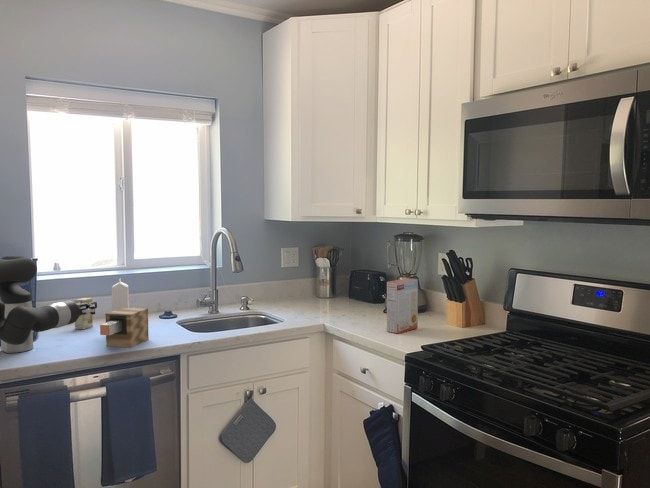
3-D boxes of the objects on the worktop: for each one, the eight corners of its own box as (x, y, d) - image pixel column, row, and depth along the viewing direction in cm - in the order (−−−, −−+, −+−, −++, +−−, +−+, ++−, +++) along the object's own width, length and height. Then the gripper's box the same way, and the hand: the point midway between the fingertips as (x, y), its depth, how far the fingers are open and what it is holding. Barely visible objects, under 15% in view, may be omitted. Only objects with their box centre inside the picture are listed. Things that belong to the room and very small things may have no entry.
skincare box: (83, 329, 223) (82, 300, 222) (74, 329, 224) (73, 299, 223) (93, 326, 229) (92, 297, 228) (84, 325, 230) (83, 297, 229)
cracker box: (406, 326, 230) (407, 277, 229) (418, 328, 226) (418, 279, 224) (385, 331, 220) (386, 280, 219) (397, 334, 216) (397, 282, 215)
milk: (112, 335, 214) (110, 279, 212) (114, 331, 220) (112, 277, 218) (129, 334, 216) (127, 279, 214) (130, 330, 221) (128, 277, 220)
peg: (109, 335, 188) (109, 325, 187) (100, 334, 188) (99, 324, 188) (128, 327, 199) (128, 318, 199) (120, 327, 200) (119, 317, 200)
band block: (131, 347, 195) (130, 314, 194) (106, 346, 197) (105, 313, 196) (148, 339, 207) (147, 308, 206) (124, 338, 209) (124, 307, 208)
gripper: (78, 303, 164) (112, 294, 180) (40, 301, 166) (77, 293, 183) (78, 327, 164) (112, 316, 181) (41, 325, 167) (77, 315, 184)
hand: (94, 304), depth 182 cm, fingers closed
